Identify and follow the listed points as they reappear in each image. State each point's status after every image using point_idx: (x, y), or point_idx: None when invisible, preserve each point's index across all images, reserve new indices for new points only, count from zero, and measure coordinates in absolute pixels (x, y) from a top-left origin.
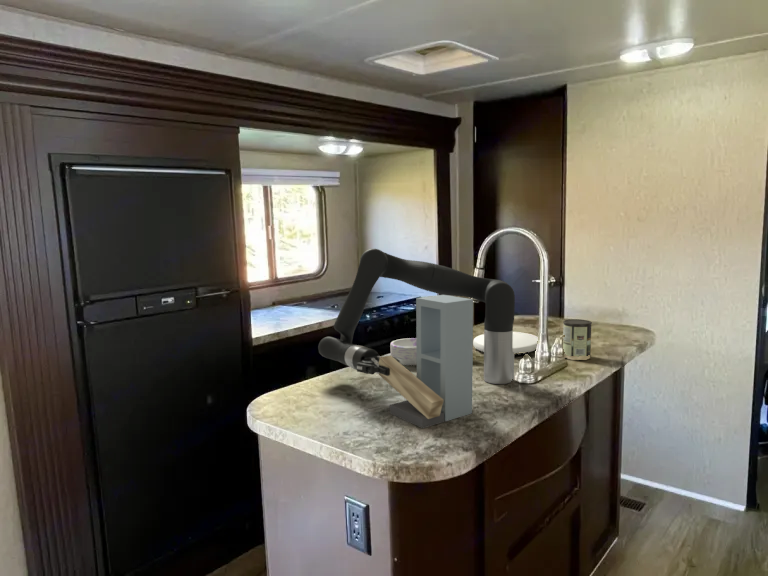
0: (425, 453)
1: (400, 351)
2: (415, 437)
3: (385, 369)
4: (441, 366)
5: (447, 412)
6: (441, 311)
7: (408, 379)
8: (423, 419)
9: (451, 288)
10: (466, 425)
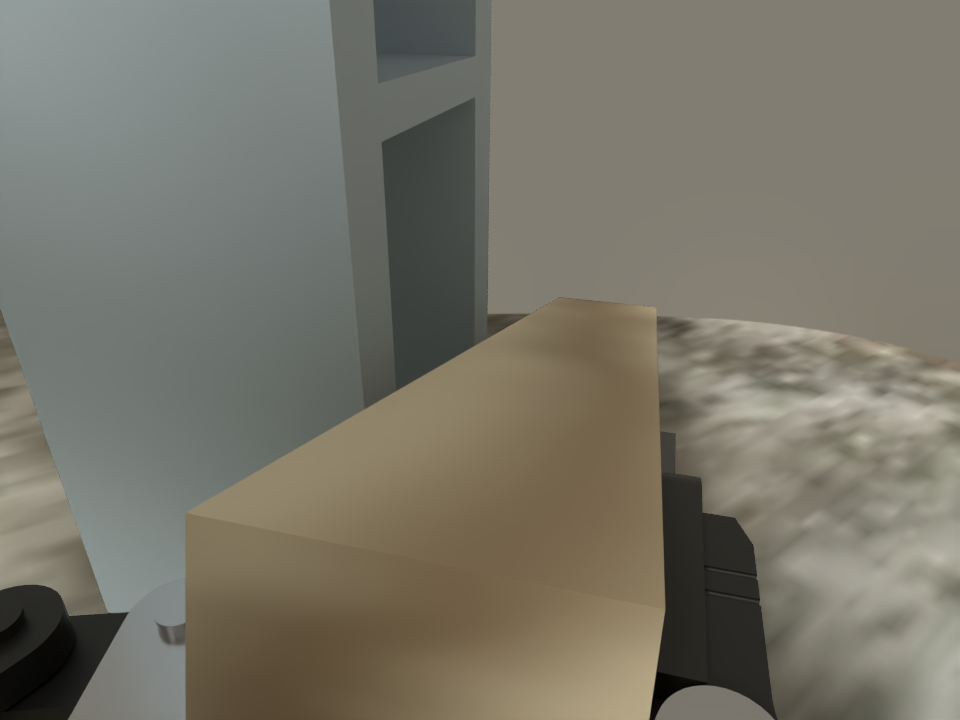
0: (847, 376)
1: None
2: (786, 455)
3: (716, 526)
4: (479, 116)
5: None
6: None
7: (618, 343)
8: (667, 436)
9: None
10: None
